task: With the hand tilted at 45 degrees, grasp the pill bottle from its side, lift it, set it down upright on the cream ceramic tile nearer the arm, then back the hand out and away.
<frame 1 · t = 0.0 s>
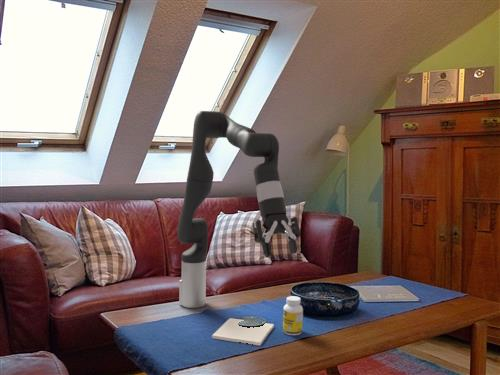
hand: (281, 255, 136), 31 cm above the table, tool tilted 20°, fingers open, 8 cm apart
pill bottle: (292, 332, 162), on the table
cream tile: (244, 332, 161), on the table
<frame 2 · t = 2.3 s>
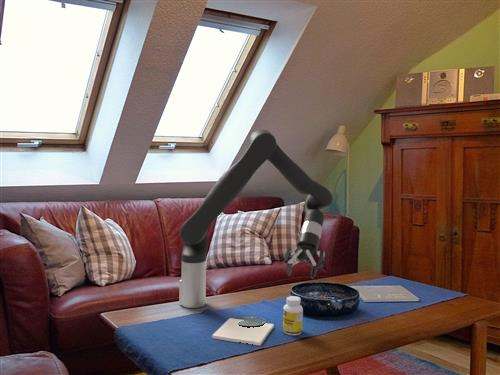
hand: (299, 276, 170), 16 cm above the table, tool tilted 40°, fingers open, 8 cm apart
nothing on the table moved.
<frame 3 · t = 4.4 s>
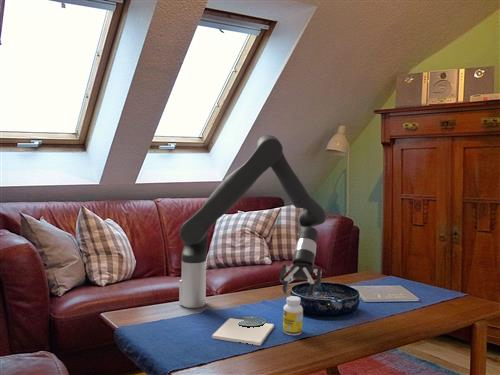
hand: (297, 294, 166), 11 cm above the table, tool tilted 45°, fingers open, 8 cm apart
nothing on the table moved.
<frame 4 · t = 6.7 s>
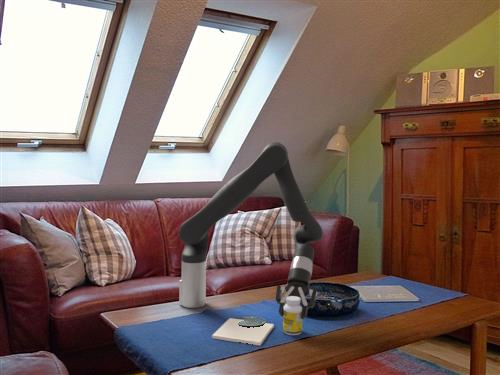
hand: (291, 316, 160), 6 cm above the table, tool tilted 45°, fingers closed on pill bottle, 6 cm apart
pill bottle: (292, 332, 162), on the table, touching gripper
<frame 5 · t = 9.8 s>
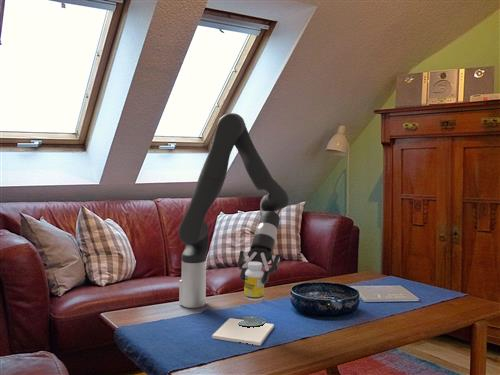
hand: (253, 281, 158), 18 cm above the table, tool tilted 45°, fingers closed on pill bottle, 6 cm apart
pill bottle: (253, 298, 161), point 11 cm above the table, touching gripper
when the fingers open (8 cm above the table, at t = 12.6 s): pill bottle stays where it is, resting on cream tile.
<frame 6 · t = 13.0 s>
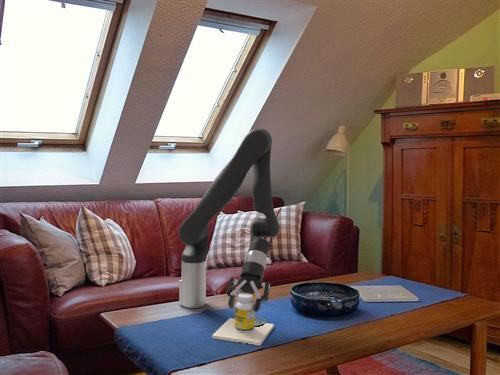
hand: (243, 309, 159), 8 cm above the table, tool tilted 45°, fingers open, 8 cm apart
pill bottle: (244, 329, 161), point 1 cm above the table, touching cream tile
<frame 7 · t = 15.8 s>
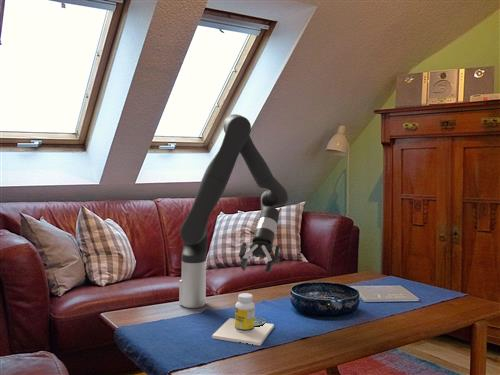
hand: (255, 271, 170), 18 cm above the table, tool tilted 45°, fingers open, 8 cm apart
nothing on the table moved.
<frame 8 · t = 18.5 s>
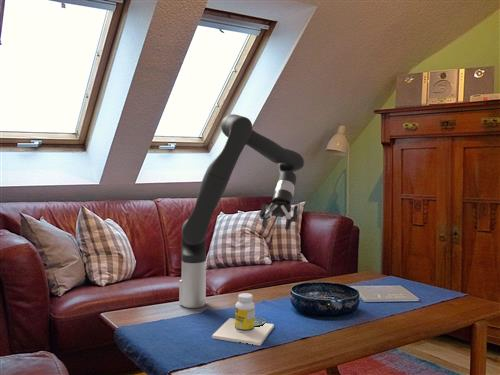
hand: (275, 228, 181), 31 cm above the table, tool tilted 45°, fingers open, 8 cm apart
nothing on the table moved.
at the end: pill bottle inside the target area on the cream tile (0.2 cm from its centre), point 0.8 cm above the cream tile's base; pill bottle tilted 0°; the gripper is holding nothing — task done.
